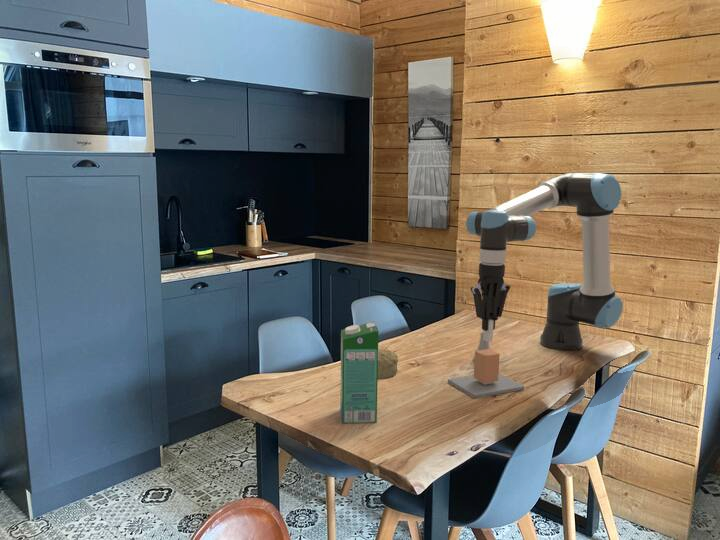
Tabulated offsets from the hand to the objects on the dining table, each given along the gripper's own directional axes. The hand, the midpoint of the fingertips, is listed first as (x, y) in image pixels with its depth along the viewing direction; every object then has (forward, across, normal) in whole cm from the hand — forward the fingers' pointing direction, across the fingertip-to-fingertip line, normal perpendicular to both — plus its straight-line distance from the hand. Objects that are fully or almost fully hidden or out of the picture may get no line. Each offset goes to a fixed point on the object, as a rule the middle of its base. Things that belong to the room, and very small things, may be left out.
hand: (487, 340), depth 183 cm
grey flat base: (+14, 0, 0) cm, 14 cm away
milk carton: (+15, +45, +5) cm, 47 cm away
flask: (+15, -13, -19) cm, 27 cm away
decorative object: (+15, +24, -22) cm, 36 cm away
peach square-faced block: (+12, 0, 0) cm, 12 cm away
